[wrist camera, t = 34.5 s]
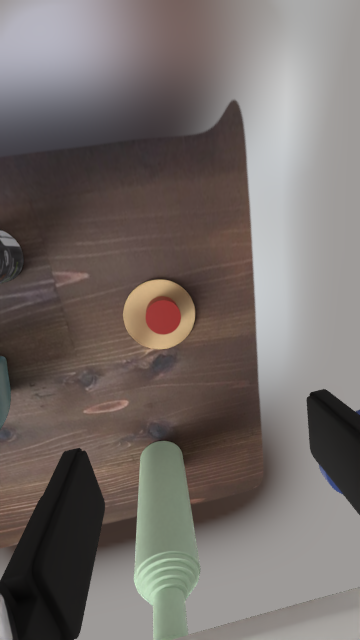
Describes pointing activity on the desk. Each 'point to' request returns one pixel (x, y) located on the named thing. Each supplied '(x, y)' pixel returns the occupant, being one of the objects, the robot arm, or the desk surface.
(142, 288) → the coaster
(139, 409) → the desk surface
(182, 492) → the bottle
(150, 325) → the cap
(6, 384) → the flower pot
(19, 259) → the pill bottle
